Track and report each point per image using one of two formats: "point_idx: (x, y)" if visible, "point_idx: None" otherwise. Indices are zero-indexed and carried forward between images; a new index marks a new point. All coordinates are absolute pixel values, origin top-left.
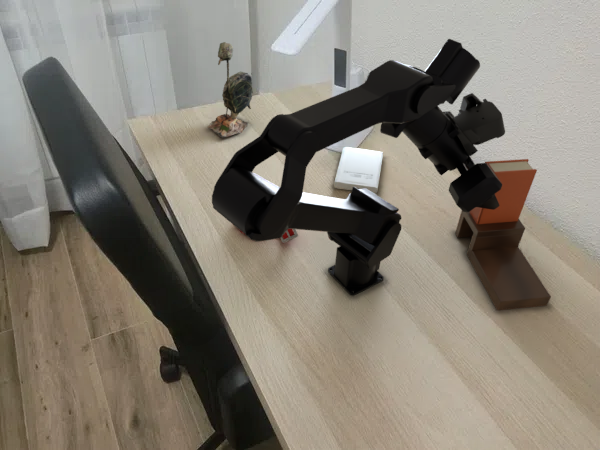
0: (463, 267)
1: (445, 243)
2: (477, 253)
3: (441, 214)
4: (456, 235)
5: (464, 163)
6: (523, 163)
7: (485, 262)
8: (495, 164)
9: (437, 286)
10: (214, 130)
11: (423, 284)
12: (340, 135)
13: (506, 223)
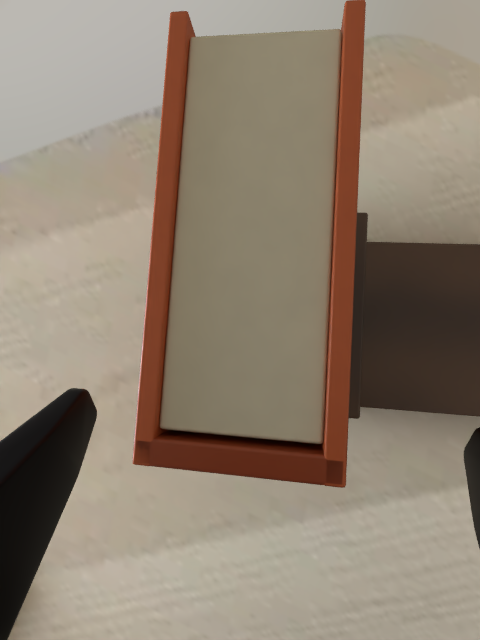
0: (372, 434)
1: None
2: (363, 393)
3: (129, 393)
4: None
5: (35, 500)
6: (223, 82)
7: (410, 387)
8: (188, 366)
9: (442, 557)
10: None
11: (426, 599)
12: None
13: None
